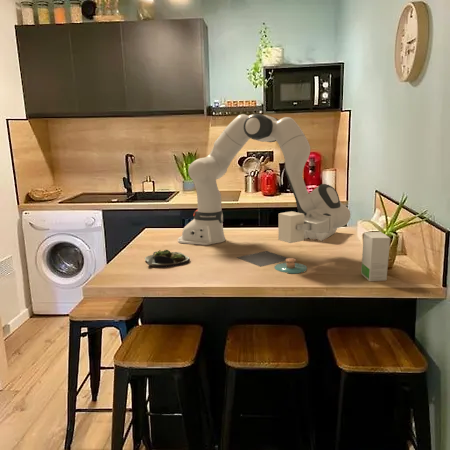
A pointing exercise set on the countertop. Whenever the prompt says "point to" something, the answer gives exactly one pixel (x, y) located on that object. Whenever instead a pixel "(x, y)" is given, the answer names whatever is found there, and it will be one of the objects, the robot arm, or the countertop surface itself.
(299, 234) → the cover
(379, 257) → the skincare box
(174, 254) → the salad plate
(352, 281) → the countertop surface
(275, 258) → the mat
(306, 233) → the food packaging
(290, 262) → the teal pot lid
